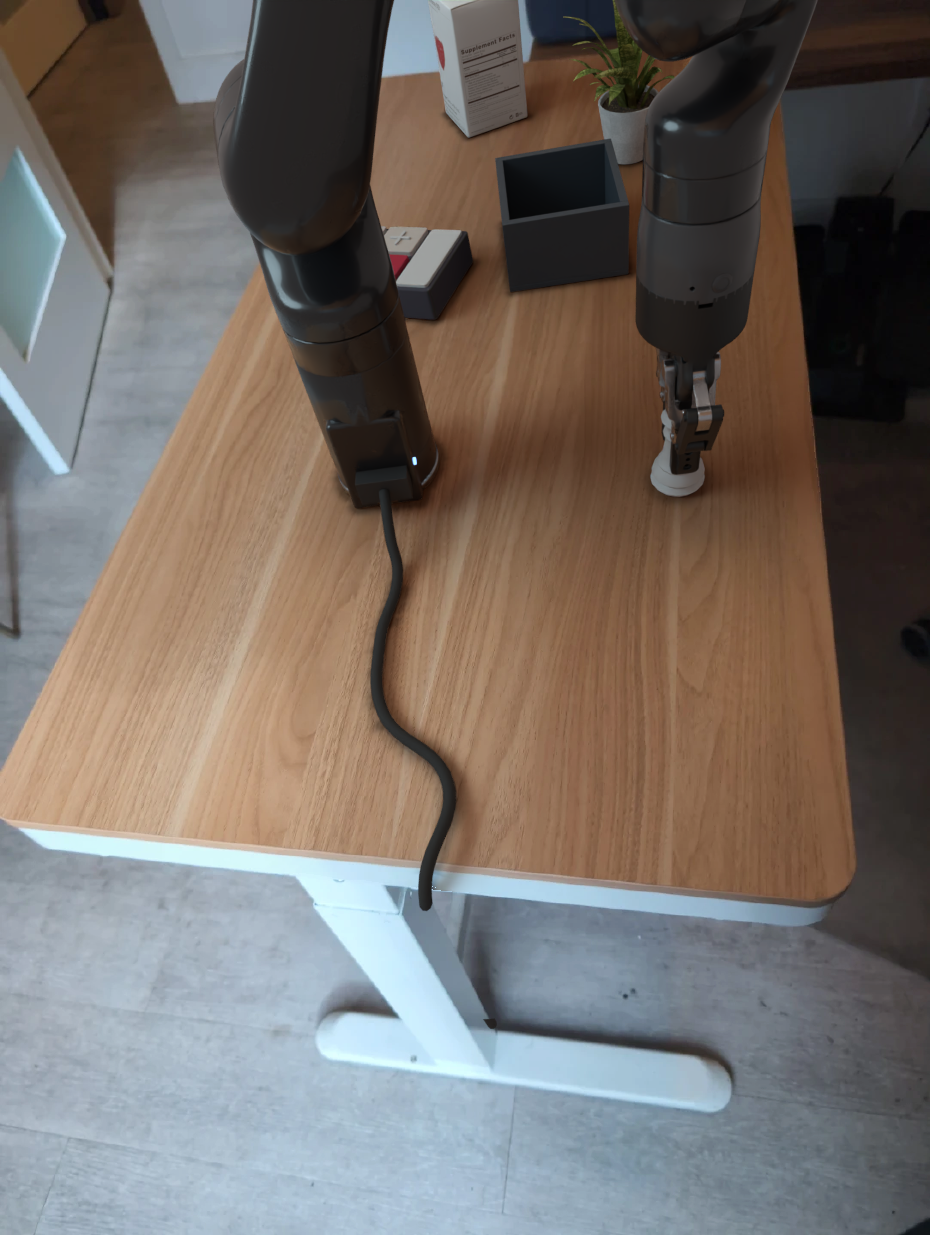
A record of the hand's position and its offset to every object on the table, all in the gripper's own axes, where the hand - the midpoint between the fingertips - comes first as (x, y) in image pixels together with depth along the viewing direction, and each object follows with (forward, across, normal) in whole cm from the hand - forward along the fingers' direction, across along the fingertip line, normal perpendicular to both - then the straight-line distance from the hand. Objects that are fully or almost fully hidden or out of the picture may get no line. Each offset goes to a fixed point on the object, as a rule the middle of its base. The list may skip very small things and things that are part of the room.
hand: (679, 453), depth 68 cm
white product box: (+3, -71, -13) cm, 72 cm away
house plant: (+3, -56, +3) cm, 56 cm away
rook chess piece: (+3, 0, 0) cm, 3 cm away
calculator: (+3, -35, -25) cm, 43 cm away
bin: (+3, -37, -6) cm, 38 cm away
